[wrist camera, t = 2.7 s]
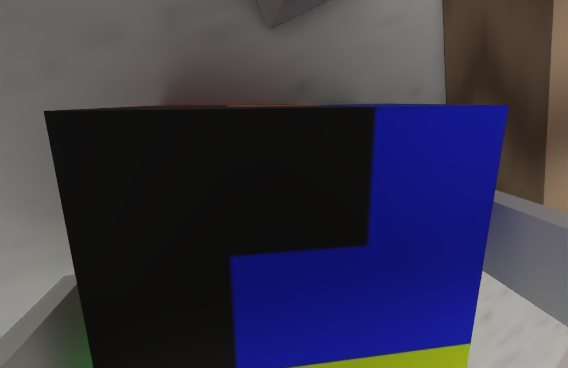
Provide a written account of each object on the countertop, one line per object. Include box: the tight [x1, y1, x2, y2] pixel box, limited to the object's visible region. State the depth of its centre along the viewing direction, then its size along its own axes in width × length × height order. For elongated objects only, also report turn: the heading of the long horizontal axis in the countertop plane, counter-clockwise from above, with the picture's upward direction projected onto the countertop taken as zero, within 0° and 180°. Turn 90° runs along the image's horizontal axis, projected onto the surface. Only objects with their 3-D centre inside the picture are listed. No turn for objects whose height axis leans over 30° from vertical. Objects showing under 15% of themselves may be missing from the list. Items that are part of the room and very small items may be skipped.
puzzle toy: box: [44, 103, 509, 368], centre depth 13 cm, size 10×10×10 cm
